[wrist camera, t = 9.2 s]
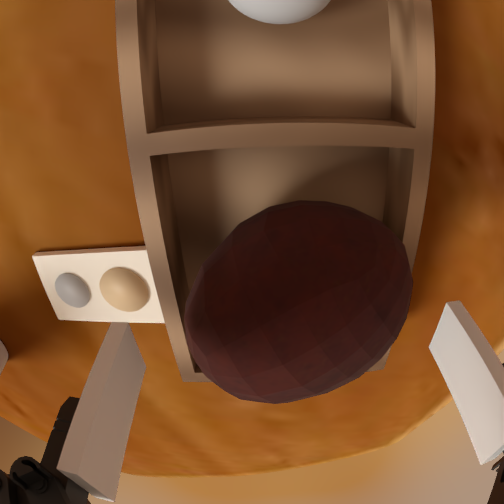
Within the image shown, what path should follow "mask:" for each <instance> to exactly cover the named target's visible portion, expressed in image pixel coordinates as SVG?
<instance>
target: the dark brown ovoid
mask: <svg viewBox="0 0 504 504" xmlns="http://www.w3.org/2000/svg"><path fill="white" fill-rule="evenodd" d="M412 287H413V279H412V274H411V269H410V265H409V261H408V257H407V253H406V249H405V245H404V244H403V243H402V242H401V241H400V240H399V238H398V237H397V236H396V235H395V234H394V233H393V232H392V231H391V230H390V229H389V228H388V227H387V226H386V225H385V224H383V223H382V222H381V221H379V220H377V219H375V218H373V217H371V216H369V215H367V214H365V213H363V212H361V211H359V210H356V209H354V208H352V207H349V206H345V205H340V204H336V203H332V202H327V201H307V200H298V201H293V202H288V203H284V204H279V205H274V206H270V207H268V208H266V209H264V210H262V211H260V212H259V213H257V214H255V215H253V216H251V217H250V218H248V219H246V220H244V221H243V222H241V223H239V224H238V225H237V226H236V227H235V229H234V230H233V231H232V232H231V233H230V234H229V235H228V236H227V237H226V238H225V240H224V241H223V242H222V243H221V244H220V245H219V246H218V247H217V248H216V249H215V251H214V252H213V253H212V254H211V255H210V256H209V257H208V258H207V259H206V261H205V262H204V263H203V264H202V265H201V268H200V270H199V272H198V275H197V277H196V279H195V282H194V284H193V287H192V289H191V291H190V294H189V296H188V299H187V301H186V307H185V316H184V320H185V330H186V340H187V345H188V347H189V349H190V351H191V354H192V356H193V358H194V360H195V362H196V363H197V365H198V366H199V368H200V369H201V371H202V372H203V374H204V375H205V376H206V377H207V378H208V379H210V380H211V381H212V382H214V383H215V384H216V385H218V386H219V387H220V388H222V389H223V390H224V391H226V392H228V393H230V394H231V395H233V396H235V397H237V398H239V399H242V400H249V401H256V402H264V403H273V404H278V403H288V402H293V401H297V400H301V399H305V398H309V397H313V396H317V395H321V394H325V393H328V392H330V391H332V390H334V389H336V388H338V387H341V386H343V385H345V384H347V383H349V382H351V381H353V380H355V379H357V378H359V377H360V376H361V375H363V374H364V373H365V372H366V371H367V370H369V369H370V368H371V367H372V366H373V365H375V364H376V363H377V362H378V361H379V360H380V359H381V358H382V357H383V356H384V355H385V353H386V352H387V351H388V349H389V348H390V347H391V345H392V344H393V343H394V341H395V340H396V339H397V337H398V335H399V333H400V331H401V329H402V327H403V324H404V322H405V320H406V318H407V313H408V309H409V305H410V299H411V293H412Z"/></svg>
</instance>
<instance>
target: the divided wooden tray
mask: <svg viewBox="0 0 504 504" xmlns="http://www.w3.org/2000/svg"><path fill="white" fill-rule="evenodd" d="M115 15H116V40H117V56H118V70H119V81H120V92H121V101H122V110H123V119H124V127H125V134H126V141H127V148H128V155H129V161H130V168H131V174H132V180H133V185H134V191H135V196H136V202H137V207H138V212H139V217H140V222H141V227H142V232H143V236H144V241H145V246H146V250H147V254H148V259H149V263H150V267H151V271H152V275H153V280H154V284H155V287H156V291H157V295H158V299H159V303H160V307H161V310H162V314H163V318H164V321H165V325H166V328H167V332H168V335H169V338H170V342H171V345H172V348H173V352H174V355H175V358H176V361H177V365H178V368H179V371H180V374H181V377H182V380H183V382H212V381H211V380H210V379H208V378H207V377H206V376H205V375H204V374H203V372H202V371H201V369H200V368H199V366H198V365H197V363H196V362H195V360H194V358H193V356H192V354H191V351H190V349H189V347H188V345H187V340H186V330H185V320H184V316H185V307H186V301H187V299H188V296H189V294H190V291H191V289H192V287H193V284H194V282H195V279H196V277H197V275H198V272H199V270H200V268H201V265H202V264H203V263H204V262H205V261H206V259H207V258H208V257H209V256H210V255H211V254H212V253H213V252H214V251H215V249H216V248H217V247H218V246H219V245H220V244H221V243H222V242H223V241H224V240H225V238H226V237H227V236H228V235H229V234H230V233H231V232H232V231H233V230H234V229H235V227H236V226H237V225H238V224H239V223H241V222H243V221H244V220H246V219H248V218H250V217H251V216H253V215H255V214H257V213H259V212H260V211H262V210H264V209H266V208H268V207H270V206H274V205H279V204H284V203H288V202H293V201H298V200H307V201H327V202H332V203H336V204H340V205H345V206H349V207H352V208H354V209H356V210H359V211H361V212H363V213H365V214H367V215H369V216H371V217H373V218H375V219H377V220H379V221H381V222H382V223H383V224H385V225H386V226H387V227H388V228H389V229H390V230H391V231H392V232H393V233H394V234H395V235H396V236H397V237H398V238H399V240H400V241H401V242H402V243H403V244H404V245H405V249H406V253H407V257H408V261H409V265H410V269H411V274H412V270H413V266H414V261H415V257H416V252H417V247H418V242H419V237H420V232H421V226H422V221H423V215H424V209H425V202H426V196H427V189H428V181H429V173H430V164H431V154H432V143H433V130H434V112H435V43H434V26H433V14H432V4H431V0H330V2H329V3H328V4H327V6H326V7H325V8H324V9H323V10H321V11H320V12H319V13H317V14H316V15H314V16H312V17H310V18H308V19H306V20H303V21H300V22H296V23H290V24H271V23H265V22H261V21H258V20H255V19H252V18H250V17H248V16H246V15H244V14H243V13H241V12H240V11H238V10H237V9H236V8H235V7H234V6H233V5H232V4H231V3H230V2H229V1H228V0H115ZM391 346H392V345H391ZM390 349H391V347H390V348H389V349H388V351H387V352H386V353H385V355H384V356H383V357H382V358H381V359H380V360H379V361H378V362H377V363H376V364H375V365H373V366H372V367H371V368H370V369H369V370H367V371H366V372H369V371H376V370H382V369H384V367H385V364H386V361H387V358H388V355H389V352H390Z"/></svg>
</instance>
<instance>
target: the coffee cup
mask: <svg viewBox="0 0 504 504" xmlns="http://www.w3.org/2000/svg"><path fill="white" fill-rule="evenodd" d="M7 360H8V352H7V350H6V348H5V346H4V344H3V343H2V342H1V340H0V374H1V372H2V370H3V368H4V366H5V364H6V362H7Z"/></svg>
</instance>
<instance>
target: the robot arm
mask: <svg viewBox="0 0 504 504" xmlns="http://www.w3.org/2000/svg"><path fill="white" fill-rule="evenodd" d="M429 349H430V351H431V353H432V355H433V357H434V359H435V361H436V363H437V365H438V367H439V369H440V371H441V373H442V375H443V377H444V379H445V381H446V383H447V386H448V388H449V390H450V392H451V394H452V396H453V399H454V401H455V403H456V405H457V408H458V410H459V412H460V415H461V417H462V419H463V422H464V424H465V426H466V429H467V431H468V434H469V436H470V439H471V441H472V444H473V446H474V449H475V452H476V454H477V457H478V459H479V462H480V465H482V464H484V463H486V462H489V461H491V460H493V459H495V458H496V457H497V456H498V455H499V454H500V453H501V452H503V453H504V363H503V364H502V363H501V362H500V360H499V358H498V357H497V355H496V354H495V352H494V350H493V349H492V347H491V346H490V344H489V343H488V341H487V339H486V338H485V336H484V335H483V333H482V332H481V330H480V329H479V327H478V326H477V324H476V323H475V321H474V320H473V319H472V317H471V316H470V314H469V313H468V311H467V310H466V309H465V307H464V306H463V304H462V303H461V302H460V301H453V302H447V303H446V305H445V308H444V311H443V313H442V316H441V319H440V321H439V324H438V326H437V329H436V331H435V334H434V336H433V339H432V341H431V343H430V346H429ZM145 369H146V365H145V363H144V361H143V358H142V356H141V353H140V351H139V348H138V346H137V343H136V341H135V338H134V336H133V333H132V331H131V328H130V325H129V323H128V322H111V324H110V327H109V329H108V331H107V333H106V336H105V338H104V340H103V343H102V345H101V347H100V350H99V352H98V355H97V357H96V359H95V362H94V364H93V367H92V369H91V372H90V374H89V377H88V379H87V382H86V384H85V387H84V390H83V392H82V395H81V397H80V398H75V397H69V398H68V399H67V400H66V401H65V403H64V404H63V405H62V406H61V408H60V410H59V413H58V416H57V418H56V419H57V421H55V424H54V426H53V430H52V432H51V435H50V437H49V440H48V443H47V446H46V449H45V452H44V455H43V458H42V461H41V463H39V462H37V461H36V460H35V459H33V458H32V457H27V456H24V457H20V458H18V459H17V460H16V461H15V462H14V463H13V465H12V466H11V469H10V474H6V473H5V472H3V471H2V470H0V504H91V503H90V502H89V501H88V499H87V498H88V494H89V493H90V494H91V495H93V496H94V497H96V498H99V499H103V500H107V501H112V502H115V498H116V493H117V488H118V482H119V478H120V473H121V468H122V463H123V459H124V454H125V449H126V445H127V441H128V436H129V432H130V428H131V424H132V419H133V415H134V411H135V407H136V403H137V399H138V396H139V392H140V388H141V384H142V380H143V377H144V373H145ZM499 465H500V466H499ZM498 466H499V468H498V469H497V470H496V471H497V472H498V473H497V476H496V480H495V483H494V486H493V489H492V492H491V495H490V498H489V501H488V503H487V504H504V456H503V457H502V458H501V459H500V460H499V461H498V462H496V463H495V464H494V465H493V467H492V470H494V469H495V468H496V467H498Z"/></svg>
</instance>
